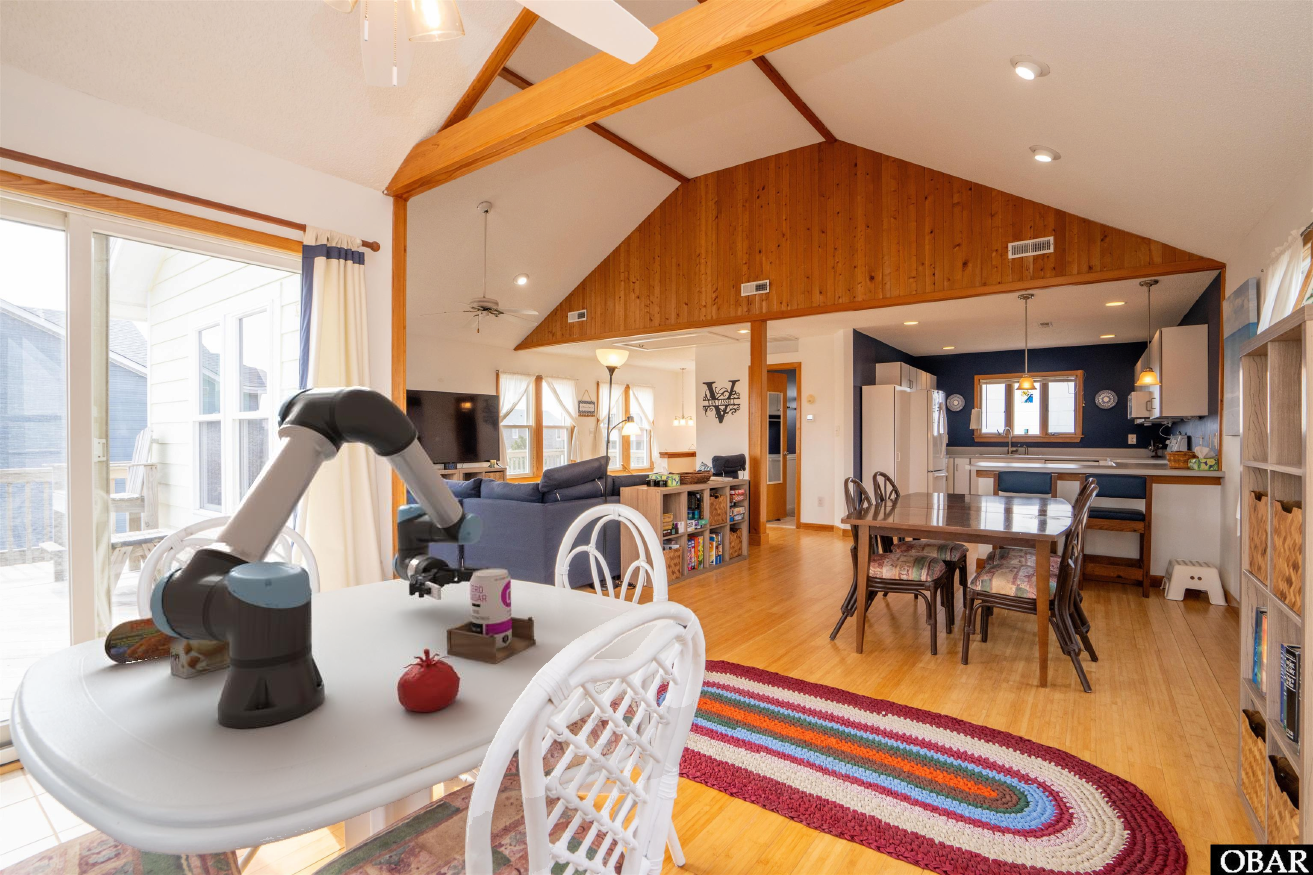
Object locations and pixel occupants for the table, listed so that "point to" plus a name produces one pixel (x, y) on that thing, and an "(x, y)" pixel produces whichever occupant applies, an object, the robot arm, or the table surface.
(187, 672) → the coffee box
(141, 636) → the tin
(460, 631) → the tray
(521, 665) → the table surface
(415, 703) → the red tomato
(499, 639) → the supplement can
